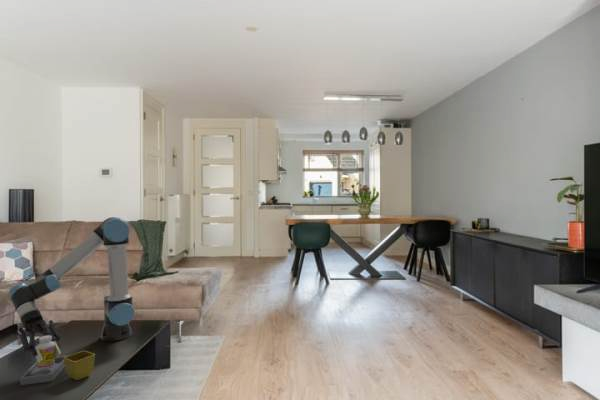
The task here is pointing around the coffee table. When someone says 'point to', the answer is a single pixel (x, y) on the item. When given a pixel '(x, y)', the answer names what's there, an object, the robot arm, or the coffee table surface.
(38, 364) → the supplement bottle
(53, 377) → the tray
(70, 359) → the flower pot
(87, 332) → the coffee table surface
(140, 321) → the coffee table surface
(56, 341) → the robot arm
